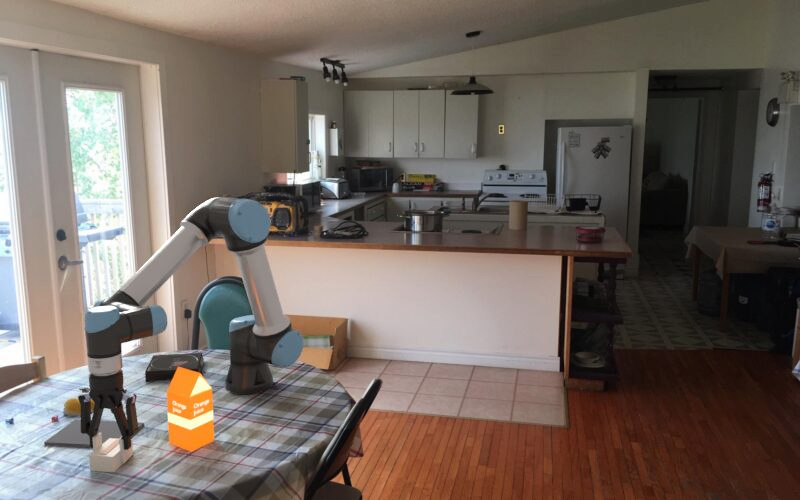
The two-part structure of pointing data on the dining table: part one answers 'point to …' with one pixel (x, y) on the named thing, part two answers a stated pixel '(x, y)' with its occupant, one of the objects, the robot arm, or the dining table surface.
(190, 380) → the orange juice
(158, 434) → the dining table surface
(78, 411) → the bread roll
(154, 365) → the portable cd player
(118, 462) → the block
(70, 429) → the charcoal mat
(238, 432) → the dining table surface
